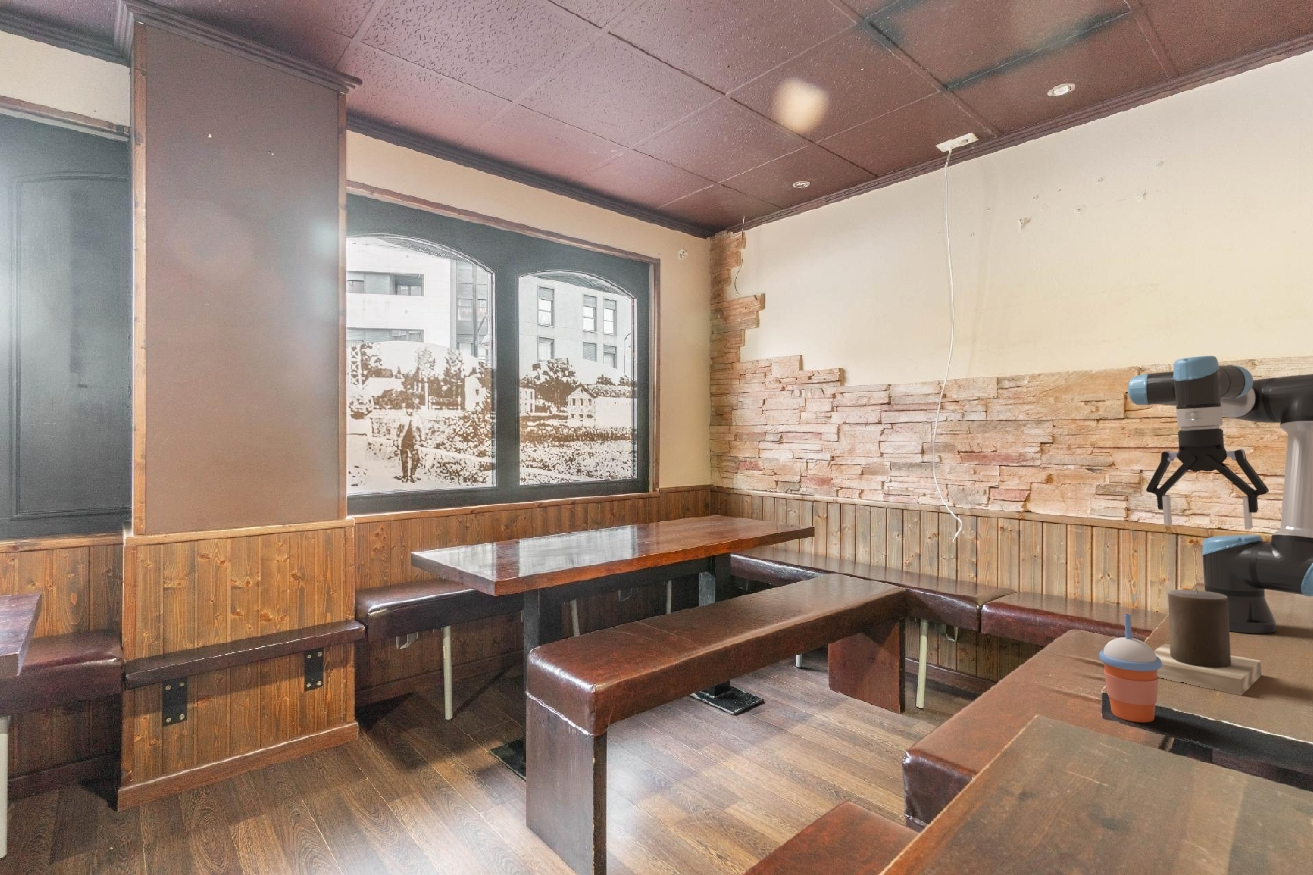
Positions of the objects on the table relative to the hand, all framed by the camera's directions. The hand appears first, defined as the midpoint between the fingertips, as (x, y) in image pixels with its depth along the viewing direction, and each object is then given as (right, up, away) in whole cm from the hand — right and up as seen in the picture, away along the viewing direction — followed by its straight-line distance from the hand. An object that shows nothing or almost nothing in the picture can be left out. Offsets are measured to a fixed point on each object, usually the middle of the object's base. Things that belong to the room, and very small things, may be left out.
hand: (1207, 526), depth 141 cm
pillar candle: (-7, -27, -6) cm, 28 cm away
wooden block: (-7, -30, -6) cm, 31 cm away
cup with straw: (-34, -31, -25) cm, 52 cm away
